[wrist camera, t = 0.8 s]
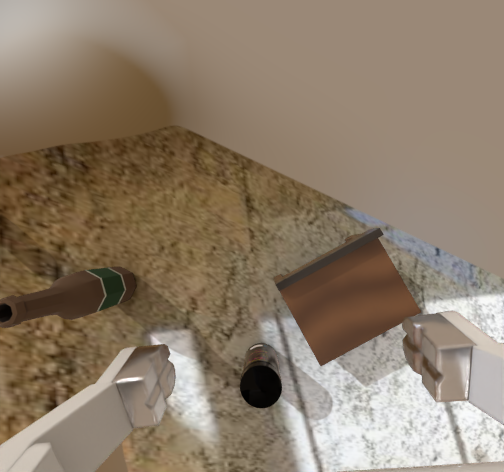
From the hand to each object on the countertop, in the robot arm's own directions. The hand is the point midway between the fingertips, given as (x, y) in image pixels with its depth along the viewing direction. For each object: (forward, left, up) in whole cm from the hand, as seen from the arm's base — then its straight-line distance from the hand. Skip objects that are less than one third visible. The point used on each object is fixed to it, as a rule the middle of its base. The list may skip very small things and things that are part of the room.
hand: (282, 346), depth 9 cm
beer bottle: (+11, +29, -44) cm, 54 cm away
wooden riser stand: (-10, -9, -43) cm, 45 cm away
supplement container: (-16, +10, -44) cm, 47 cm away
